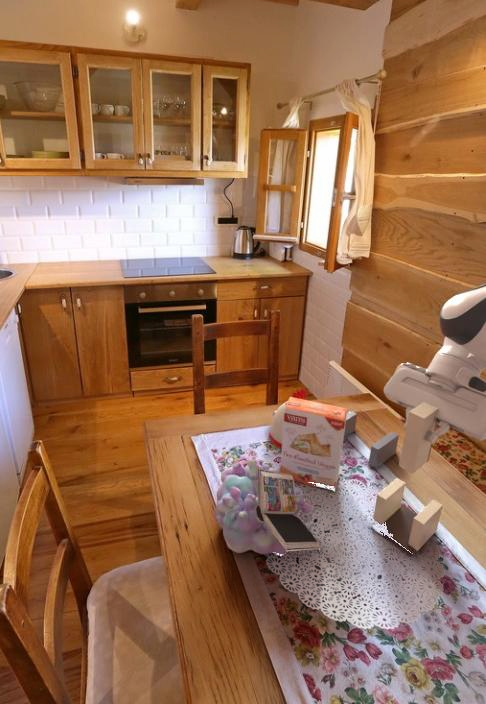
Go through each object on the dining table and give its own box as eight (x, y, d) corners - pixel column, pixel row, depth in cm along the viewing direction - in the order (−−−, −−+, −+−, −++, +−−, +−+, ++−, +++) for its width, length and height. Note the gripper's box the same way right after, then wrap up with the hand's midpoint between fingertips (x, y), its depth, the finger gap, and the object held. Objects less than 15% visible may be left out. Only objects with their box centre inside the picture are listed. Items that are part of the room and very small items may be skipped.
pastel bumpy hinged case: (217, 469, 99) (211, 441, 85) (306, 468, 98) (315, 440, 84) (215, 565, 86) (208, 551, 72) (317, 566, 85) (330, 552, 71)
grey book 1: (355, 430, 121) (357, 413, 119) (334, 443, 115) (336, 426, 113) (349, 427, 123) (351, 410, 121) (328, 440, 117) (330, 422, 115)
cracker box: (278, 478, 102) (283, 407, 95) (284, 463, 108) (289, 395, 100) (335, 494, 98) (345, 420, 90) (338, 477, 103) (348, 406, 95)
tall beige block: (428, 461, 84) (440, 407, 80) (413, 474, 81) (424, 418, 76) (414, 453, 87) (424, 400, 82) (398, 465, 83) (408, 411, 78)
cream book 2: (436, 530, 86) (443, 505, 84) (417, 551, 81) (423, 524, 79) (427, 524, 88) (433, 499, 85) (408, 544, 83) (413, 518, 80)
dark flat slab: (435, 531, 88) (436, 526, 87) (411, 557, 82) (412, 552, 81) (395, 506, 94) (396, 501, 94) (371, 528, 88) (372, 523, 88)
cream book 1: (400, 507, 92) (405, 482, 90) (381, 525, 87) (385, 499, 85) (392, 501, 93) (397, 477, 91) (372, 519, 89) (377, 494, 86)
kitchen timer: (327, 438, 118) (332, 393, 113) (296, 458, 109) (300, 411, 104) (290, 417, 128) (293, 375, 123) (259, 434, 119) (261, 390, 114)
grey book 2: (395, 453, 112) (399, 435, 110) (375, 468, 106) (378, 449, 104) (388, 449, 113) (392, 431, 111) (368, 464, 107) (371, 445, 105)
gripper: (398, 353, 88) (366, 407, 86) (504, 391, 73) (469, 458, 71) (405, 366, 93) (375, 417, 90) (507, 404, 78) (474, 467, 75)
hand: (417, 435), depth 81 cm, fingers closed on tall beige block, 3 cm apart
